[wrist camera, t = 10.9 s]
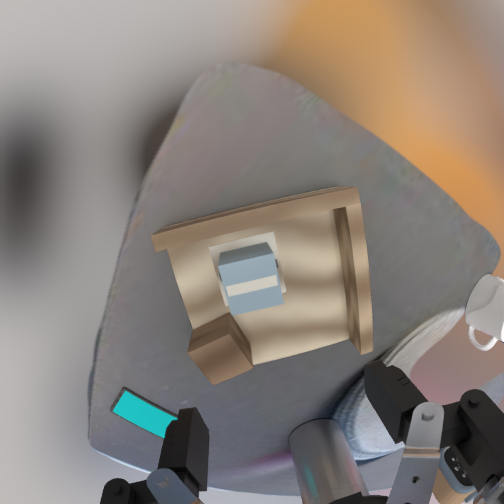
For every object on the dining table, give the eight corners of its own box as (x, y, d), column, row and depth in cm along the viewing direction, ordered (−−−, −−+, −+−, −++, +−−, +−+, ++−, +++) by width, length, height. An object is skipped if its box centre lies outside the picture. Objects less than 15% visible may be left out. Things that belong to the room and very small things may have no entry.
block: (266, 241, 30) (273, 253, 25) (276, 285, 31) (284, 304, 26) (220, 252, 30) (218, 266, 25) (231, 295, 31) (231, 316, 26)
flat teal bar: (123, 388, 34) (209, 431, 37) (124, 384, 35) (209, 427, 38) (109, 410, 35) (188, 450, 38) (110, 407, 36) (188, 446, 39)
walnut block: (250, 343, 33) (253, 368, 28) (215, 359, 33) (213, 385, 28) (229, 311, 31) (229, 333, 27) (192, 329, 32) (187, 352, 27)
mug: (521, 283, 25) (532, 300, 27) (482, 266, 35) (498, 283, 36) (483, 355, 28) (499, 363, 29) (450, 329, 37) (469, 339, 38)
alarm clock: (478, 422, 48) (513, 463, 27) (465, 442, 50) (495, 482, 29) (430, 447, 47) (464, 500, 26) (417, 466, 49) (446, 516, 28)
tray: (356, 330, 35) (372, 350, 30) (210, 367, 34) (208, 393, 29) (338, 186, 30) (357, 187, 25) (163, 227, 30) (150, 235, 25)
